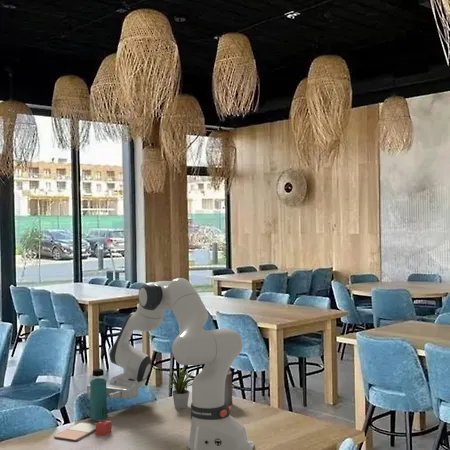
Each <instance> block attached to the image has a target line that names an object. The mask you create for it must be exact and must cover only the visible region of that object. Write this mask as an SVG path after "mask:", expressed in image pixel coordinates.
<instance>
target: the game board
mask: <svg viewBox="0 0 450 450" xmlns="http://www.w3.org/2000/svg"><path fill="white" fill-rule="evenodd" d="M94 432H95V433H96V423H92V422H85V421H80V422H78V423H76V424H74V425H73V426H71V427H68V428H66V429H65V430H63V431H60V432H59V433H56V434H55V435H54V436H53V438H56V439H62V440H68V441H74V442H79V441H81V440H83V439H84V438H86V437H88V436H90V435H92V434H93V433H94Z"/></svg>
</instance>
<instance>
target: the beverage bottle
mask: <svg viewBox="0 0 450 450" xmlns="http://www.w3.org/2000/svg"><path fill="white" fill-rule="evenodd" d="M92 376H93V378H92V379H91V380H90V381H89V384H90V396H89V402H90V403H89V417H90V420H92V421H101V420H106V419H107V418H108V399H107V398H108V397H107V388H106V382H108V381H107V379H106V378H105V377H102V376H104V369H102V368H95V369H93V370H92Z"/></svg>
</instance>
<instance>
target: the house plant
mask: <svg viewBox="0 0 450 450" xmlns="http://www.w3.org/2000/svg"><path fill="white" fill-rule="evenodd" d="M188 371H189V369H186V370H185V369H184V368H181V366H180V367H179V370H178V375H177V374H176V372H175V371H173V370H172V371H171V372H172V373H170V372H169V374H168V373H167V374H166V373H165V374H164V375H165V376H166V375H168V376H169V377H170V380H168V382H170V383H171V384H169V386H168V388H169V389H171V388H174V390H173V391H171V392H172V399H173V405H174V408H175V409H179V410H182V408H183V409H186V407H188V404H189V397H190V390H187V389H188V387H189V386H191V387H192V382H193V380H194V378H195V377H194V376H193V375H195V376H196V373H195V374H194V372H195V370H194V371H191V372H190V373H189V374H188V375H187V376H185V375H186V374H187V373H188ZM193 377H194V378H193ZM191 381H192V382H191Z"/></svg>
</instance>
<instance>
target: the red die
mask: <svg viewBox="0 0 450 450" xmlns="http://www.w3.org/2000/svg"><path fill="white" fill-rule="evenodd" d="M95 424H96V431H95V435H97V436H104V437H105V436H108V435H109V434H111V433H112V420H106V419H104V420H98V422H96V423H95Z"/></svg>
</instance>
